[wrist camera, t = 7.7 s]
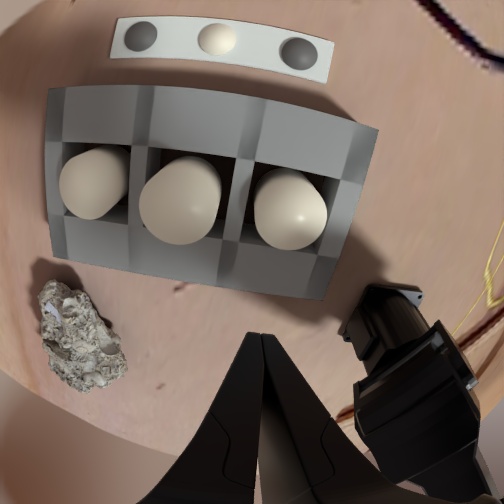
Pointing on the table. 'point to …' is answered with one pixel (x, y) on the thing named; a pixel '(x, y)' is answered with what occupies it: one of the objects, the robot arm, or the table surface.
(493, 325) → the table surface
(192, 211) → the button middle
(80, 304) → the mineral specimen
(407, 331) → the robot arm
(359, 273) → the table surface
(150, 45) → the card
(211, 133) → the button board
